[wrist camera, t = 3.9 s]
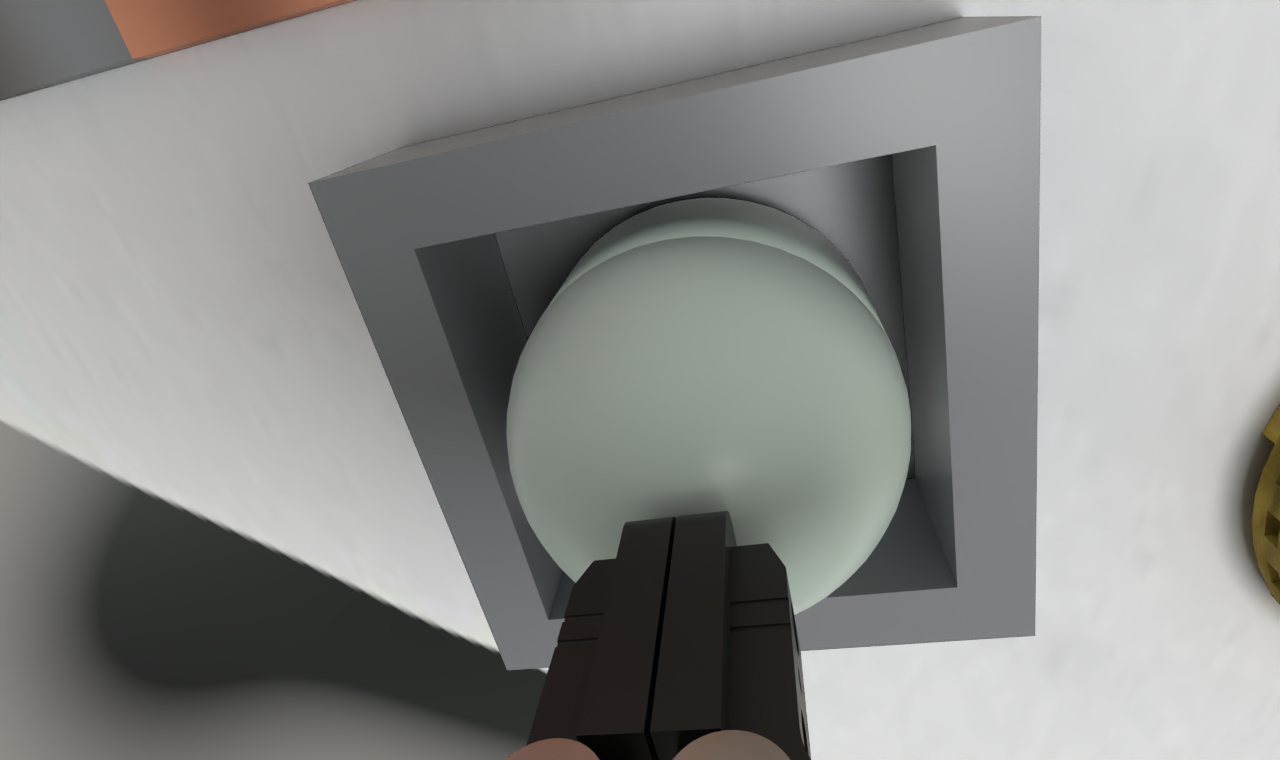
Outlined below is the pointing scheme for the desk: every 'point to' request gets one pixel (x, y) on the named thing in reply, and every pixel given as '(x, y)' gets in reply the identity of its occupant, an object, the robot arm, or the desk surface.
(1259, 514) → the brown flat disc
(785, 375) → the dome
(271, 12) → the track board
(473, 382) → the dome housing
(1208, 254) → the desk surface
